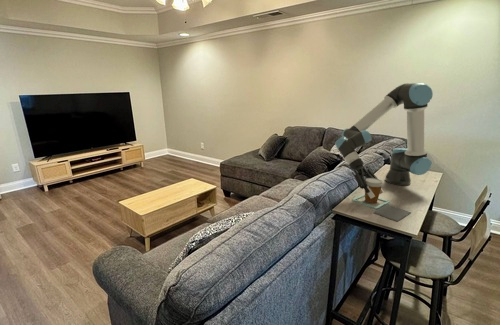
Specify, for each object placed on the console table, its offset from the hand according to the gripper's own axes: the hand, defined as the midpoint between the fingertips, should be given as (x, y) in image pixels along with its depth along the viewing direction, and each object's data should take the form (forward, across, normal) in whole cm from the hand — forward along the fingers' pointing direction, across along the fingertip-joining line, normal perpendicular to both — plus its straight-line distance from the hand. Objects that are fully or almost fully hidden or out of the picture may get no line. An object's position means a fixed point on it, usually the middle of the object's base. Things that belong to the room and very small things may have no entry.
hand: (377, 195), depth 144 cm
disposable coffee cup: (+1, 0, -5) cm, 5 cm away
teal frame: (+1, 0, -6) cm, 6 cm away
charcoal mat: (+11, +5, +4) cm, 13 cm away
